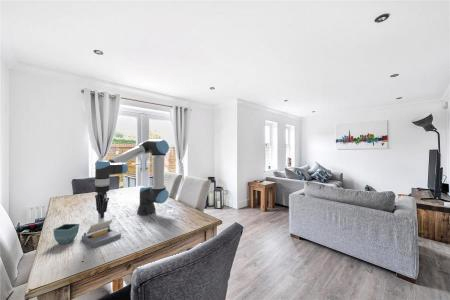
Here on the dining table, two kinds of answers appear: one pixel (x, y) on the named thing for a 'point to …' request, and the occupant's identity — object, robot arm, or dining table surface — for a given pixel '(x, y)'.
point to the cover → (99, 226)
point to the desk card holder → (101, 237)
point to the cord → (98, 233)
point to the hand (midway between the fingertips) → (101, 222)
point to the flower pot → (66, 233)
